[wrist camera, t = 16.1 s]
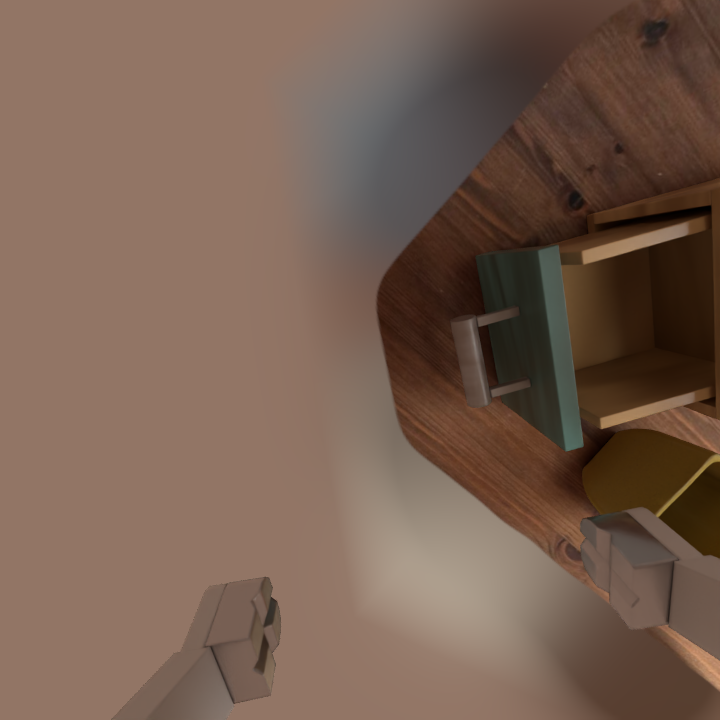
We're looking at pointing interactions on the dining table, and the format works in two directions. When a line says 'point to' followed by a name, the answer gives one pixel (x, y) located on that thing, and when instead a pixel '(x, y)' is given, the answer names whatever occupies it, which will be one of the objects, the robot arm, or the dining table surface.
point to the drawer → (596, 326)
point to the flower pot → (660, 483)
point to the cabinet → (715, 196)
